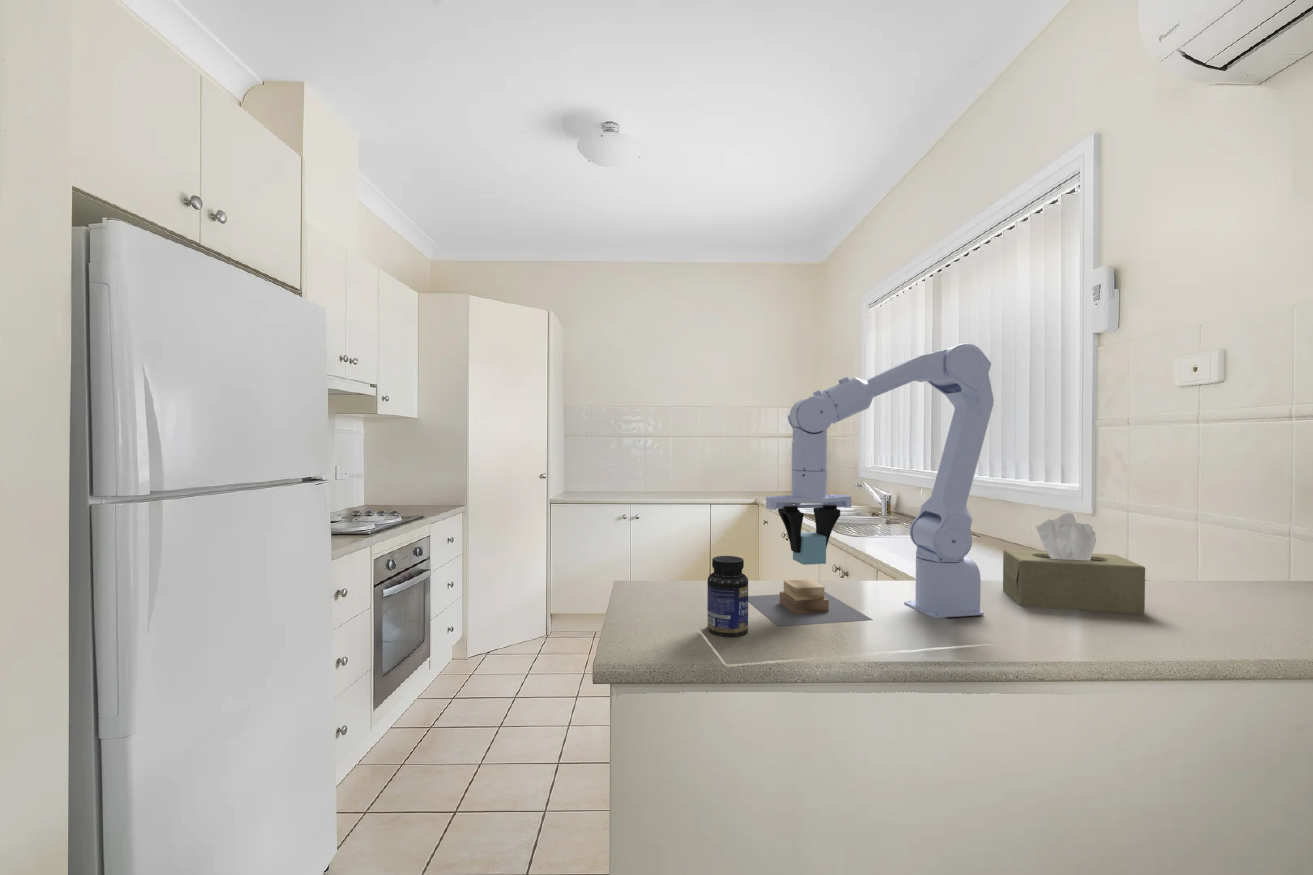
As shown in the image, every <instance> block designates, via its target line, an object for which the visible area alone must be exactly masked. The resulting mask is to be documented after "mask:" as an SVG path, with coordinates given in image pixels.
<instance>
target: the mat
mask: <svg viewBox="0 0 1313 875" xmlns="http://www.w3.org/2000/svg"><path fill="white" fill-rule="evenodd" d="M824 597H825V598H827V599H828V600H829V612H818V613H802V614H794V613H792V612H791V611H790V610H788V609H787V608H786V607H784V606H783V605H782V604H780V593H779V594H763V595H761V594H759V595H748V604H750V605H751V606H753V607H754V608H755V609H757V611H759V613H761V614H762V615H763V616H765V617H766V618H767V619H768V620H769V621H771V622H772V623H773V624H774V625H775V626H776V627H778V628H779V627H790V626H791V627H792V626H803V625H804V626H805V625H820V624H833V623H834V624H835V623H848V622H850V623H851V622H862V621H863V622H865V621H866V622H867V621H874V619H872V618H871V617H869V616H867V615H866V614H865V613H862V612H860V611H859V610H857V609H856V608H854V607H852V606H850V605H849V604H847V603H845V602H844V601H841V600H840V599H837V598H836V597H835V596H834V595H831V594H830V593H828V592H826V591H824Z"/></svg>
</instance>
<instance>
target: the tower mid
mask: <svg viewBox="0 0 1313 875" xmlns="http://www.w3.org/2000/svg"><path fill="white" fill-rule="evenodd" d="M783 591H784V593H786V594H787V595H788V596H790V597H791V598H793V599H794V600H796V601H800V600H817V599H824V592H825V586H824V585H822V584H820V583H818V582H816V581H814V580H813V579H811V578H809V579H808V578H807V579H794V580H793V579H792V580H791V579H789V580H783Z"/></svg>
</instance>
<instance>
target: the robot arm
mask: <svg viewBox="0 0 1313 875" xmlns="http://www.w3.org/2000/svg"><path fill="white" fill-rule="evenodd" d="M991 366H992V362H991V361H990V360H989V358H988V357H987V356H986V355H985V353H984V352H983V350H982V349H980V348H979V347H978V346H977V345H975V344H972V343H960V344H957V345H956V346H953V347H950V348H946V349H941V350H940V349H939V350H935V351H933V352H930V353H926V354H922V355H919V356H915V357H911V358H909V359H907V360H905V361H902V362H900V363H899V364H896V365H895V366H893V367H892V366H891V367H890V368H888V369H886V370H884V371H883V372H880V373H879V374H876V375H874V376H872V377H869V378H868V379H866V380H863V379H861V378H858V377H855V376H854V377H851V378H849V377H848V376H845V377H843V378H839V379H838V384H835V385H833V386H830V387H829V388H826V389H824V390H822V391H821V390H819V389H817V390H815V391H813V392H812V396H809V397H808V398H805V399H801V400H798V401H797V402H795V403H794V404H793V406H791V407H790V410H789V415H787V420H788V424H789V425H790V427H791V428H792V442H791V494H788V495H773V496H772V495H770V496H765V508H766V509H768V510H770V511H771V510H777V511H778V514H779V517H780V518H781V521H782V522H783V525H784V527H785V530H786V533H787V536H788V540H789V545H790V551H791V552H792V553H793V552H795V553H800V550H801V533H802V526H803V521H804V516H805V514H804V512H802V511H801V510H800V509H813V516H814V520H815V532H816V533H818V534H821V535H824V536H826V549H827V547H828V543H829V540H830V536H831V534H832V531H833V529H834V527H835V525H836V523H837V522H838V520H839V518H840V517H841V510H840V509H838V508H845V509H846V508H847V509H848V508H852V496H851V495H848V494H847V495H846V494H828V440H827V439H828V438H827V437H828V436H827V434H828V429H829V427H830V426H831V424H836V423H838V422H840V421H842V420H845V419H847V418H850V417H851V416H854V415H856V414H858V413H861V412H863V411H865V410H868V409H869V408H870V407H871V404H872V401H873V400H874V398H875V397H877V396H881V395H883V394H885V393H888V392H891V391H893V390H895V389H897V388H900V387H902V386H905V385H907V384H911V383H912V382H918V383H923V382H927V383H928V384H929V385H931V387H933V388H934V389H936V390H938V391H939V392H940V393H942V394H943V395H945V396H946V397H947V399H948V401H949V402H950V403H951V405H952V406H953V408H954V409H953V410H954V411H953V414H952V418H951V422H950V426H949V429H948V432H947V436H946V441H945V443H944V447H943V452H942V453H941V454H942V455H941V459H940V463H939V466H938V469H937V473H936V476H935V481H934V485H933V488H932V491H931V495H930V497H929V498H928V499H927V500H926V501H924V502H923V504H922V505H921V507H920V511H919V513H918V515H917V516H916V517H915V518H914V520H912V522H911V524H910V527H909V536H910V540H911V542H913V544H914V545H915V546H916V551H915V600H908V601H907V600H905V601H904V602H903V603H904V605H905V606H907V607H909V608H911V609H914V610H915V611H918V612H920V613H922V614H924V615H926V616H928V617H930V618H934V619H940V618H941V619H942V618H955V617H956V618H958V617H972V616H983V615H984V614H985V613H984V611H983V610H981V572H980V568H979V566H978V564H977V563H976V561H974V559H972V558H971V557H967V555H969V552H970V551H971V549H972V546H973V536H972V532H971V526H972V523H973V517H972V515H971V513H970V511H969V508H968V506H967V503H968V499H969V496H970V493H971V488H972V485H973V481H974V477H975V474H976V469H977V465H978V462H979V458H980V456H981V452H982V448H983V445H984V440H985V436H986V432H987V430H988V425H989V423H990V422H989V421H990V419H991V418H990V417H991V414H992V411H993V407H994V402H995V401H994V394H993V390H992V389H993V388H992V385H991V384H992V383H991V380H990V375H989V373H990V371H991Z"/></svg>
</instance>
